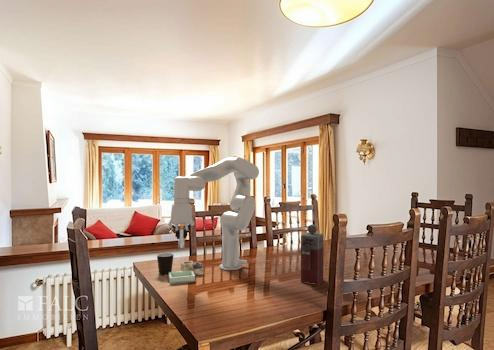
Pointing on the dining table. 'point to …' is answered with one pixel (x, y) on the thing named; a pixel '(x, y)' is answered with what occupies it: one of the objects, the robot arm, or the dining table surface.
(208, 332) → the dining table surface
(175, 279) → the tray
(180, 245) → the pin
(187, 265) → the pulley block
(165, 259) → the coffee mug
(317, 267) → the dark red bottle
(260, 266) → the dining table surface
